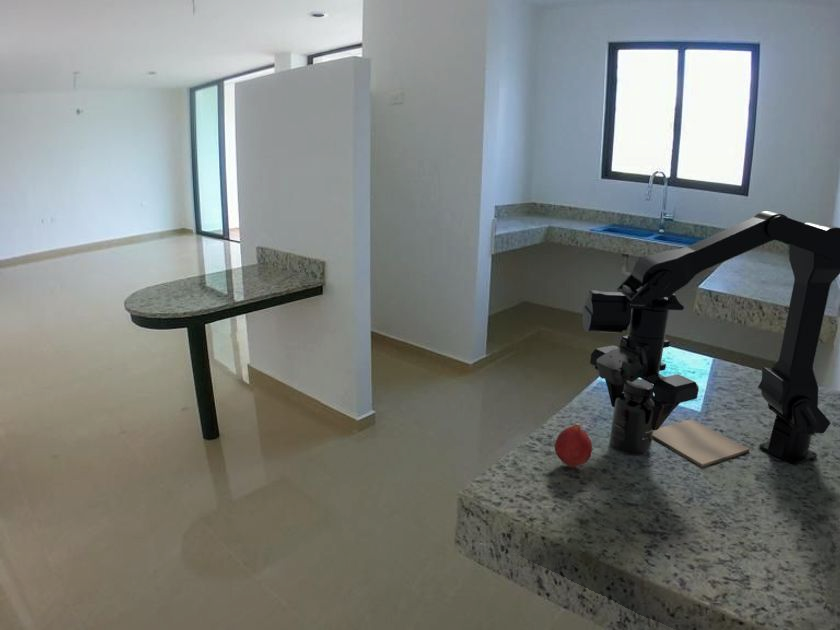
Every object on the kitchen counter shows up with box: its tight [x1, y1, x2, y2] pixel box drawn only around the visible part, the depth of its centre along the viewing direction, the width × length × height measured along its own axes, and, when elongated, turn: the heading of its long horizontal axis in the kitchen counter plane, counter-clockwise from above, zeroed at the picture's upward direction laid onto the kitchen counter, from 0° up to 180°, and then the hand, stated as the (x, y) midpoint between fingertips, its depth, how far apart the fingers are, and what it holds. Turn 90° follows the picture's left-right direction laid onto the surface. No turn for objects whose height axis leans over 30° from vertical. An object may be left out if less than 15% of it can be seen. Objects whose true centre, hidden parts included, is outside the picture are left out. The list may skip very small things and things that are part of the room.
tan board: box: [652, 418, 750, 468], centre depth 102 cm, size 12×12×1 cm
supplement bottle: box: [609, 378, 655, 456], centre depth 99 cm, size 7×7×12 cm
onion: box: [554, 422, 593, 469], centre depth 93 cm, size 6×6×8 cm
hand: (633, 417), depth 99 cm, fingers open, 9 cm apart
